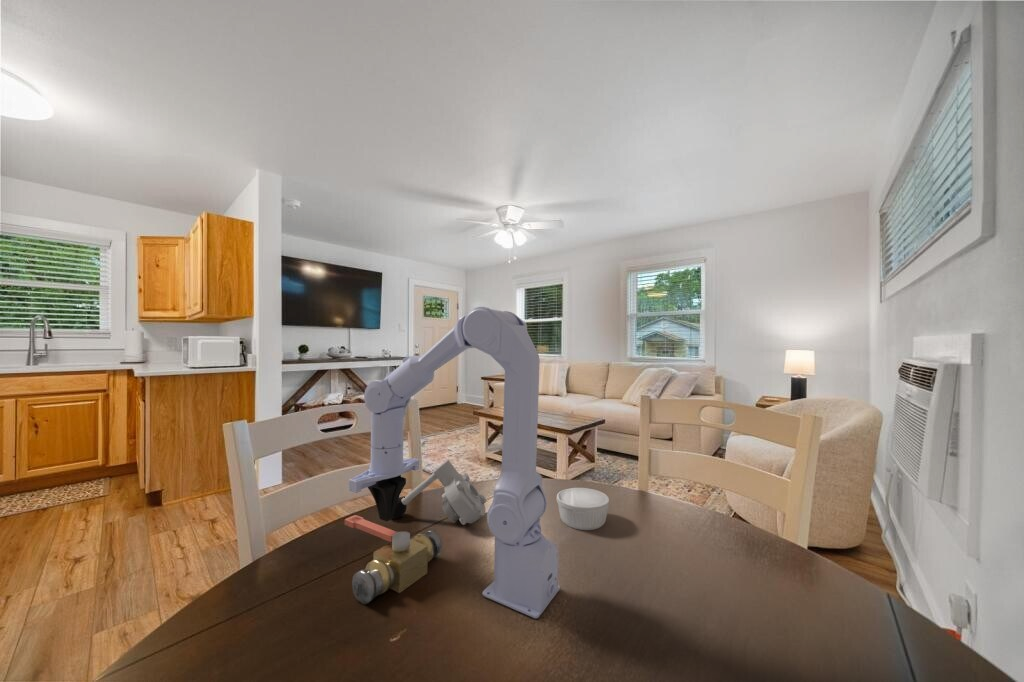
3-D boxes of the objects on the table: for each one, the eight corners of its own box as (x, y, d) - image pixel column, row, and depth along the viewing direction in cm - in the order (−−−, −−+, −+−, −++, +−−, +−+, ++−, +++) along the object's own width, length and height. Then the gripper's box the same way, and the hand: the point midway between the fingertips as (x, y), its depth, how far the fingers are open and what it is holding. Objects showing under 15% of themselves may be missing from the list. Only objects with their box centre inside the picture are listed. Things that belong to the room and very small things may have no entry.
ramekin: (547, 514, 85) (547, 491, 85) (588, 506, 90) (588, 484, 90) (575, 538, 75) (576, 511, 75) (620, 527, 80) (620, 502, 80)
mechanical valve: (485, 518, 77) (439, 459, 78) (417, 575, 77) (373, 514, 79) (492, 502, 87) (451, 449, 89) (432, 551, 87) (393, 498, 89)
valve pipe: (420, 550, 70) (420, 524, 70) (445, 560, 67) (445, 532, 67) (348, 595, 57) (348, 563, 57) (374, 610, 54) (375, 576, 54)
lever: (413, 545, 62) (413, 534, 62) (400, 553, 60) (400, 541, 60) (356, 522, 70) (356, 513, 70) (342, 529, 68) (343, 519, 68)
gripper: (401, 434, 78) (400, 500, 78) (338, 450, 66) (336, 529, 66) (427, 438, 75) (426, 508, 75) (364, 457, 62) (363, 540, 62)
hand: (386, 518), depth 70 cm, fingers closed
